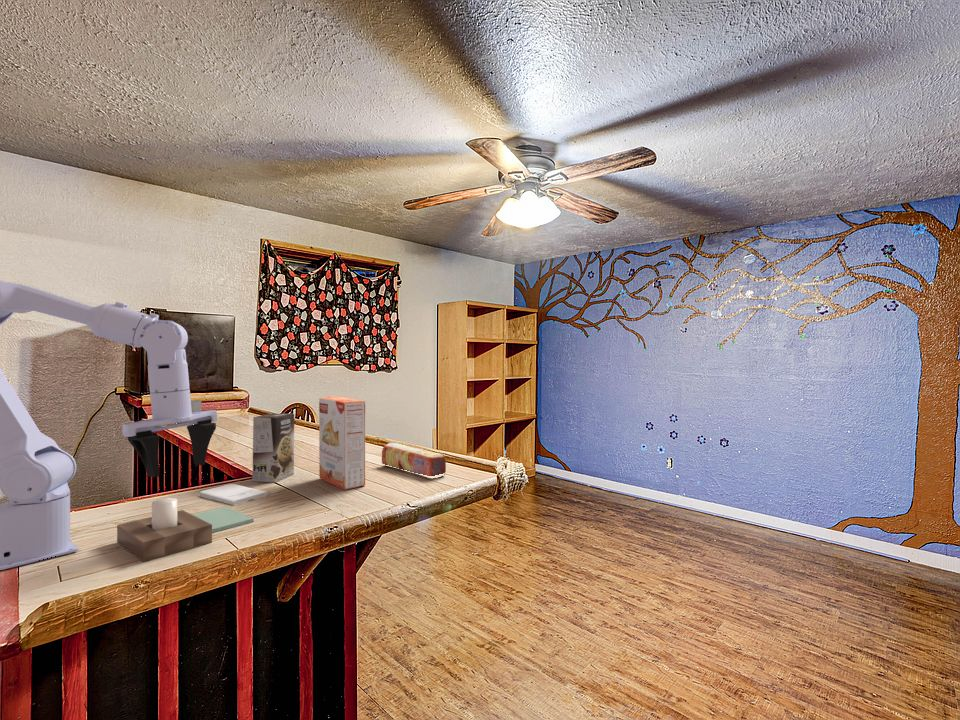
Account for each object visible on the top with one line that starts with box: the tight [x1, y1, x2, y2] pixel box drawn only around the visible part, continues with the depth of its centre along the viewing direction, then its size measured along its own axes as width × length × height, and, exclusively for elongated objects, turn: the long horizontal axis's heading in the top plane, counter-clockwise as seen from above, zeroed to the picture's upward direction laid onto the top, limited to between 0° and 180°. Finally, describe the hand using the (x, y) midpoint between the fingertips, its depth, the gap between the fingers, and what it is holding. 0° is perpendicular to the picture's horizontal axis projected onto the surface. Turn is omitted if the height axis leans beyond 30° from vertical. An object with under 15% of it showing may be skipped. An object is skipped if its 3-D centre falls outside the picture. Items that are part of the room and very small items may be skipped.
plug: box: [151, 497, 178, 531], centre depth 82 cm, size 4×4×7 cm
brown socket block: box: [116, 509, 213, 563], centre depth 82 cm, size 10×12×3 cm
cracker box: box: [318, 395, 366, 491], centre depth 121 cm, size 14×6×21 cm, turn 42°
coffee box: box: [251, 413, 295, 484], centre depth 125 cm, size 9×6×16 cm
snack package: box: [381, 442, 447, 476], centre depth 133 cm, size 21×7×7 cm, turn 47°
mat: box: [192, 506, 255, 534], centre depth 93 cm, size 9×11×1 cm
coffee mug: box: [177, 399, 202, 424], centre depth 214 cm, size 13×10×10 cm
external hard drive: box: [199, 483, 268, 506], centre depth 109 cm, size 2×8×12 cm
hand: (177, 470), depth 84 cm, fingers open, 7 cm apart
